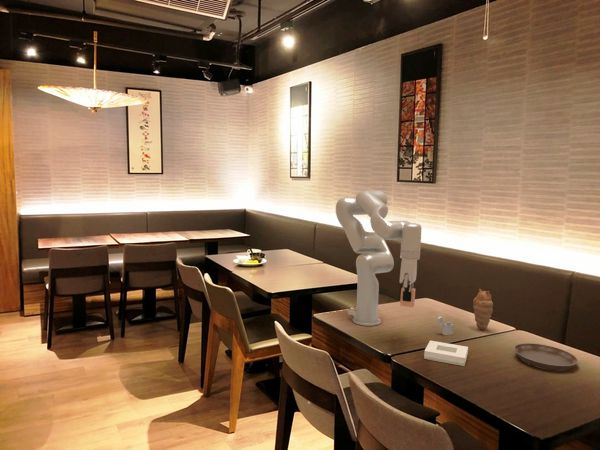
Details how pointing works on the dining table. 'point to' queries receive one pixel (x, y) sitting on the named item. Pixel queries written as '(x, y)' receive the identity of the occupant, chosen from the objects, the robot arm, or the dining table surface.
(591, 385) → the dining table surface
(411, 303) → the block
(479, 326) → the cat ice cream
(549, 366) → the plant saucer
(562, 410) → the dining table surface
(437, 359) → the holder
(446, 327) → the white plastic device
